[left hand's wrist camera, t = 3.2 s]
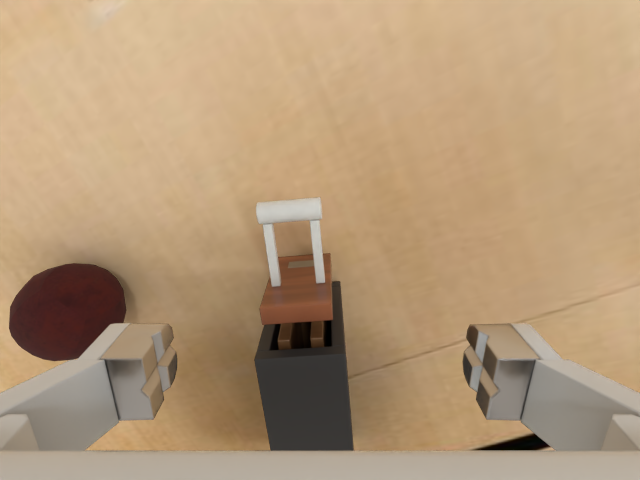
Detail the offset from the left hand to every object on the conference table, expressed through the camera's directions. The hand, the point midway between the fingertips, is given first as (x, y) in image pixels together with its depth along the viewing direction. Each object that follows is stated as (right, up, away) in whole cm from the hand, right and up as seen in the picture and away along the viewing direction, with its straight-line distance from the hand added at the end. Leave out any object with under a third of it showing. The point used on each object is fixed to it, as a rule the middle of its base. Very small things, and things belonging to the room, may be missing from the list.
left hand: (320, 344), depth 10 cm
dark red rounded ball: (-19, -1, +22) cm, 29 cm away
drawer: (-1, -3, +22) cm, 22 cm away
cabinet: (0, -9, +25) cm, 26 cm away
